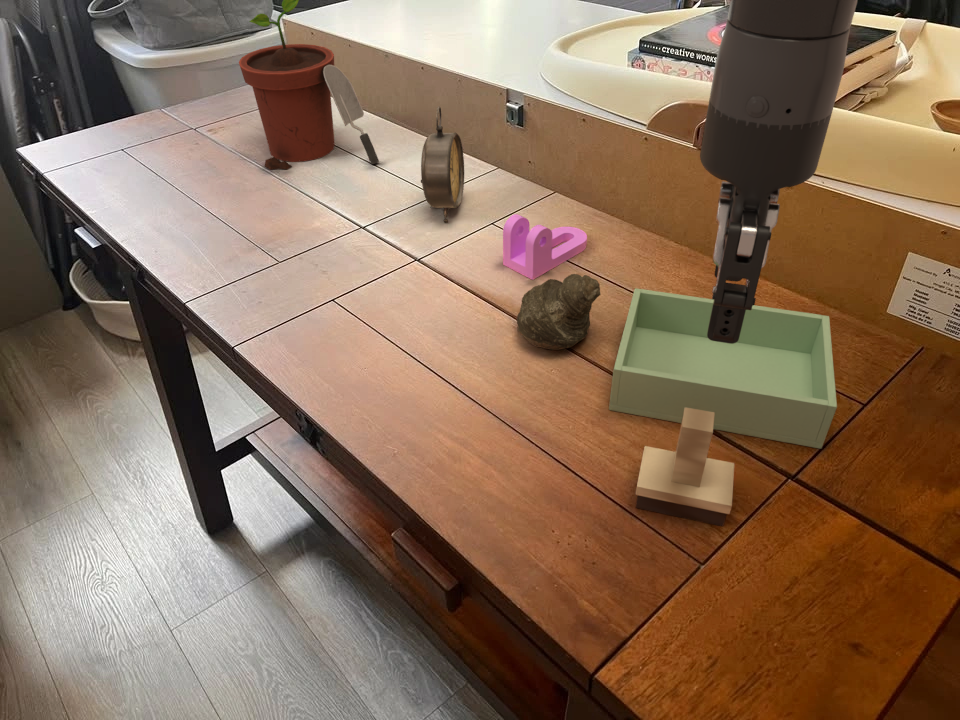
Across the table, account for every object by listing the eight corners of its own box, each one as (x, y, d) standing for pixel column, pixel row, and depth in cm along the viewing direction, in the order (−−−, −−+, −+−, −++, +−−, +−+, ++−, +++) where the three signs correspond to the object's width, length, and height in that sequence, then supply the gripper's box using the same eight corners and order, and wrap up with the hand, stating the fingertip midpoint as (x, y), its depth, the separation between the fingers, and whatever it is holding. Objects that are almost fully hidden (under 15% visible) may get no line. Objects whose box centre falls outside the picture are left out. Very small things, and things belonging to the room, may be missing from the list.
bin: (816, 356, 88) (829, 315, 85) (821, 449, 77) (837, 407, 73) (629, 327, 94) (634, 287, 90) (608, 410, 82) (613, 368, 78)
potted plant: (337, 123, 147) (316, -18, 131) (380, 164, 132) (363, 10, 116) (246, 142, 140) (213, -3, 125) (281, 188, 125) (249, 29, 110)
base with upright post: (728, 485, 73) (749, 407, 67) (725, 528, 69) (747, 450, 63) (640, 468, 75) (653, 390, 69) (633, 509, 71) (645, 431, 65)
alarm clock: (454, 227, 114) (449, 122, 104) (419, 225, 115) (411, 120, 104) (467, 194, 122) (463, 93, 112) (434, 192, 123) (427, 92, 113)
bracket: (532, 279, 102) (533, 234, 98) (503, 264, 105) (502, 219, 101) (594, 244, 109) (597, 200, 105) (565, 231, 112) (567, 187, 108)
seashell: (570, 339, 82) (633, 302, 87) (509, 252, 84) (573, 221, 89) (531, 377, 92) (589, 342, 96) (477, 299, 94) (536, 269, 98)
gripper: (841, 148, 42) (775, 372, 52) (828, 66, 53) (776, 266, 63) (702, 135, 44) (665, 354, 54) (717, 58, 54) (683, 254, 65)
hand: (725, 307), depth 58 cm, fingers open, 8 cm apart
